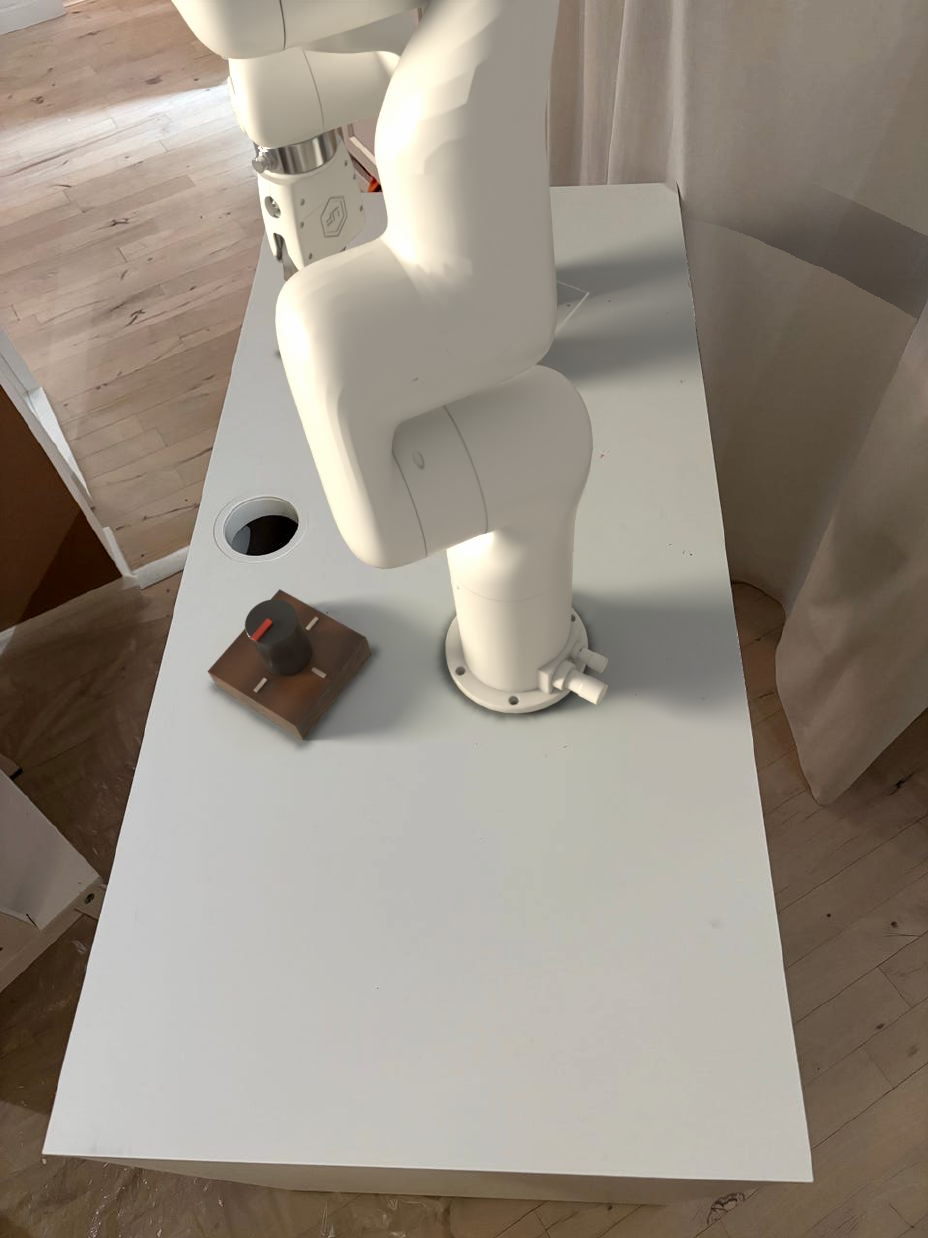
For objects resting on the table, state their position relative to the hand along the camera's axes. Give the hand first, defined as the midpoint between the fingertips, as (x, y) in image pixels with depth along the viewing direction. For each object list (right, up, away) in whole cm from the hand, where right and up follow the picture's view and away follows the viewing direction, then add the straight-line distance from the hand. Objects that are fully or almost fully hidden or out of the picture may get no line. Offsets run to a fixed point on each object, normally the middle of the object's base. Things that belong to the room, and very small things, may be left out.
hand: (333, 300), depth 103 cm
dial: (-1, -38, -20) cm, 42 cm away
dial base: (-1, -39, -17) cm, 43 cm away
